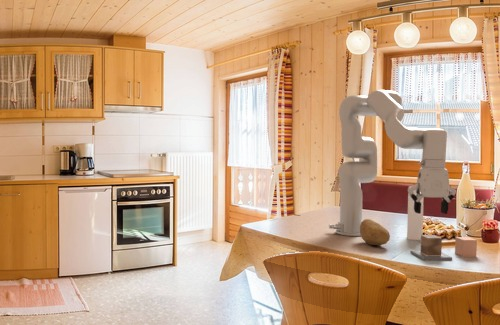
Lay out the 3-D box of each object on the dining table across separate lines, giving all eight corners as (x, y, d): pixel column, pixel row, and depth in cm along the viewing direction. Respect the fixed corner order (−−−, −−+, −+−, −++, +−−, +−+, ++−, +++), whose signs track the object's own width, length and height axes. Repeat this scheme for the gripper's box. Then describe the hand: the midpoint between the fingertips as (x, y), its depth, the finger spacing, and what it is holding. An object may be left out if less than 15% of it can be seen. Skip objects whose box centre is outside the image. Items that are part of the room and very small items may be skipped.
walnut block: (427, 255, 151) (427, 238, 151) (420, 251, 156) (421, 235, 156) (441, 255, 152) (441, 238, 151) (433, 251, 156) (434, 235, 156)
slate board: (423, 260, 148) (424, 257, 148) (410, 253, 158) (410, 250, 158) (452, 260, 149) (452, 257, 149) (437, 252, 159) (437, 249, 159)
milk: (407, 236, 187) (408, 185, 186) (422, 238, 185) (423, 186, 184) (406, 239, 182) (408, 186, 181) (422, 240, 179) (424, 187, 179)
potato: (371, 250, 162) (372, 225, 162) (354, 240, 177) (355, 218, 177) (393, 249, 164) (394, 224, 163) (374, 240, 179) (375, 217, 179)
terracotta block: (462, 256, 154) (463, 240, 154) (454, 253, 159) (455, 237, 159) (476, 256, 155) (476, 240, 155) (467, 253, 160) (468, 236, 159)
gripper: (414, 164, 148) (411, 214, 149) (463, 165, 150) (460, 215, 151) (404, 163, 156) (402, 210, 157) (451, 164, 157) (448, 211, 158)
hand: (430, 213), depth 154 cm, fingers open, 9 cm apart
